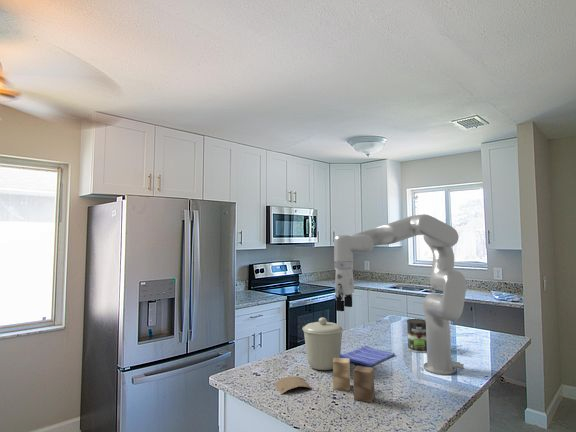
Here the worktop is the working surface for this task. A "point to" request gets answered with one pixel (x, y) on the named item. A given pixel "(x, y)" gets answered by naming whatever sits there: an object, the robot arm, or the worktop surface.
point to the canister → (322, 343)
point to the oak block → (341, 374)
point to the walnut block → (363, 383)
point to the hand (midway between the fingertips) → (344, 308)
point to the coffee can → (417, 335)
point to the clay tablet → (290, 383)
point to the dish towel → (367, 356)
